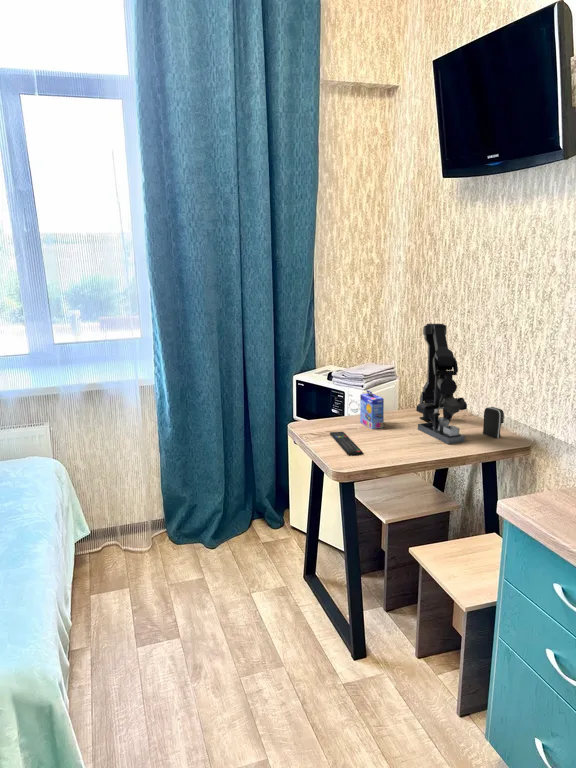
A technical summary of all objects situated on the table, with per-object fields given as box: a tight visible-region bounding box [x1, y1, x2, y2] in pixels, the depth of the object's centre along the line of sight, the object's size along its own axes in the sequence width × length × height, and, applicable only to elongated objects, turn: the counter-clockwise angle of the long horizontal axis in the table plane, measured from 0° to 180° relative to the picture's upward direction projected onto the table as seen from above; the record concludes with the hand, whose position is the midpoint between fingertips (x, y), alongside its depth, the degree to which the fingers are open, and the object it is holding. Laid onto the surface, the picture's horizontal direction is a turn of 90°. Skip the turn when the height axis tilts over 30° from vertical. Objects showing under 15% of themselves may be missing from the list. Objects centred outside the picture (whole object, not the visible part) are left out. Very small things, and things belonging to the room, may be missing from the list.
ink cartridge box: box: [359, 389, 385, 430], centre depth 229 cm, size 10×6×14 cm, turn 23°
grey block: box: [433, 416, 450, 433], centre depth 214 cm, size 4×4×5 cm
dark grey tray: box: [417, 422, 466, 446], centre depth 215 cm, size 19×7×3 cm, turn 22°
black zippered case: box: [482, 406, 505, 439], centre depth 213 cm, size 7×4×11 cm, turn 30°
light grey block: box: [443, 424, 460, 438], centre depth 209 cm, size 4×4×5 cm
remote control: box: [329, 431, 364, 457], centre depth 209 cm, size 5×24×1 cm, turn 12°
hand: (440, 428), depth 214 cm, fingers closed on grey block, 4 cm apart
